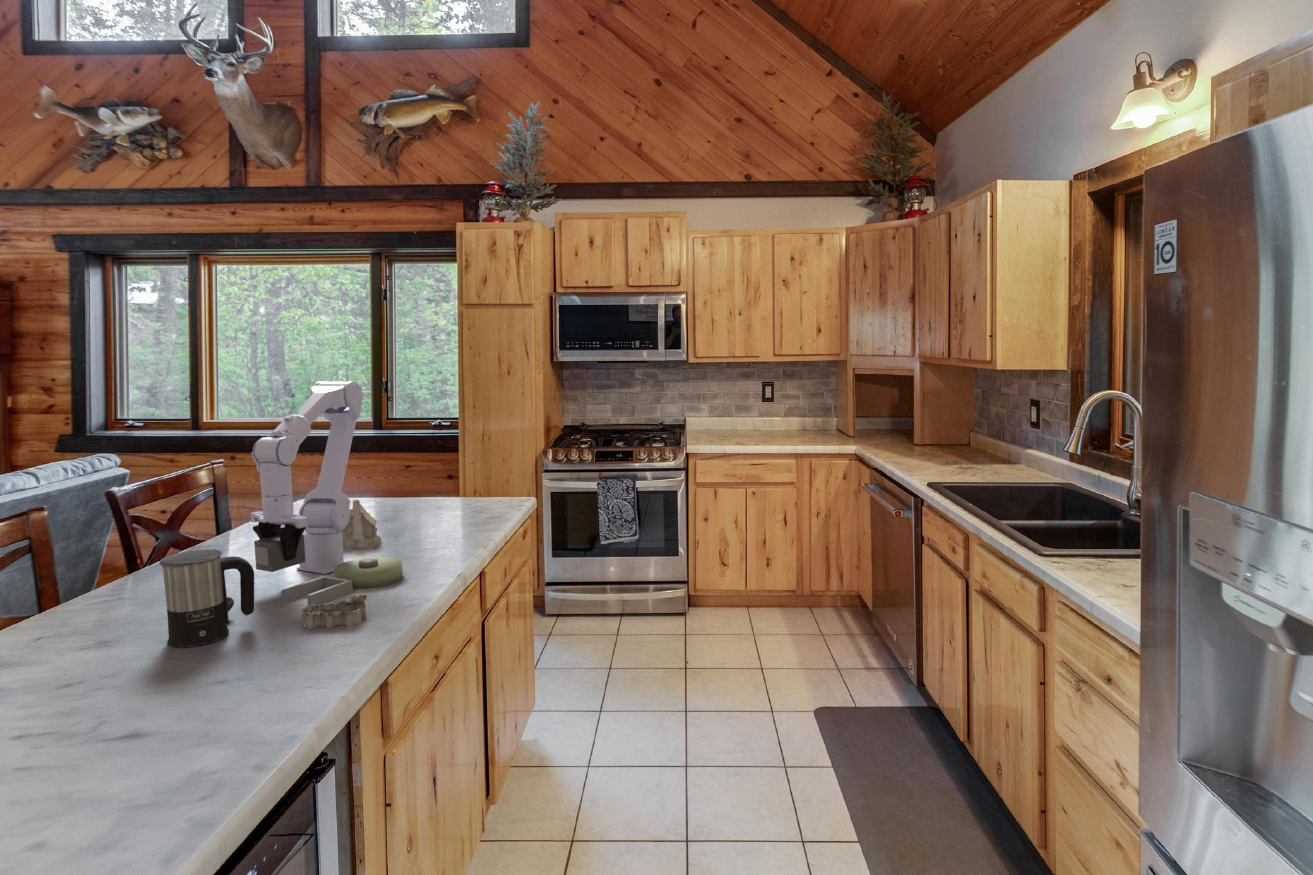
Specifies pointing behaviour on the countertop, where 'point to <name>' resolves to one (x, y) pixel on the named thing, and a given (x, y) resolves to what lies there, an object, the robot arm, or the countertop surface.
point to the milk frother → (202, 595)
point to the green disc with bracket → (347, 579)
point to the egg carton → (335, 612)
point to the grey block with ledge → (276, 554)
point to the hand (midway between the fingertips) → (281, 558)
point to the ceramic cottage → (360, 529)
